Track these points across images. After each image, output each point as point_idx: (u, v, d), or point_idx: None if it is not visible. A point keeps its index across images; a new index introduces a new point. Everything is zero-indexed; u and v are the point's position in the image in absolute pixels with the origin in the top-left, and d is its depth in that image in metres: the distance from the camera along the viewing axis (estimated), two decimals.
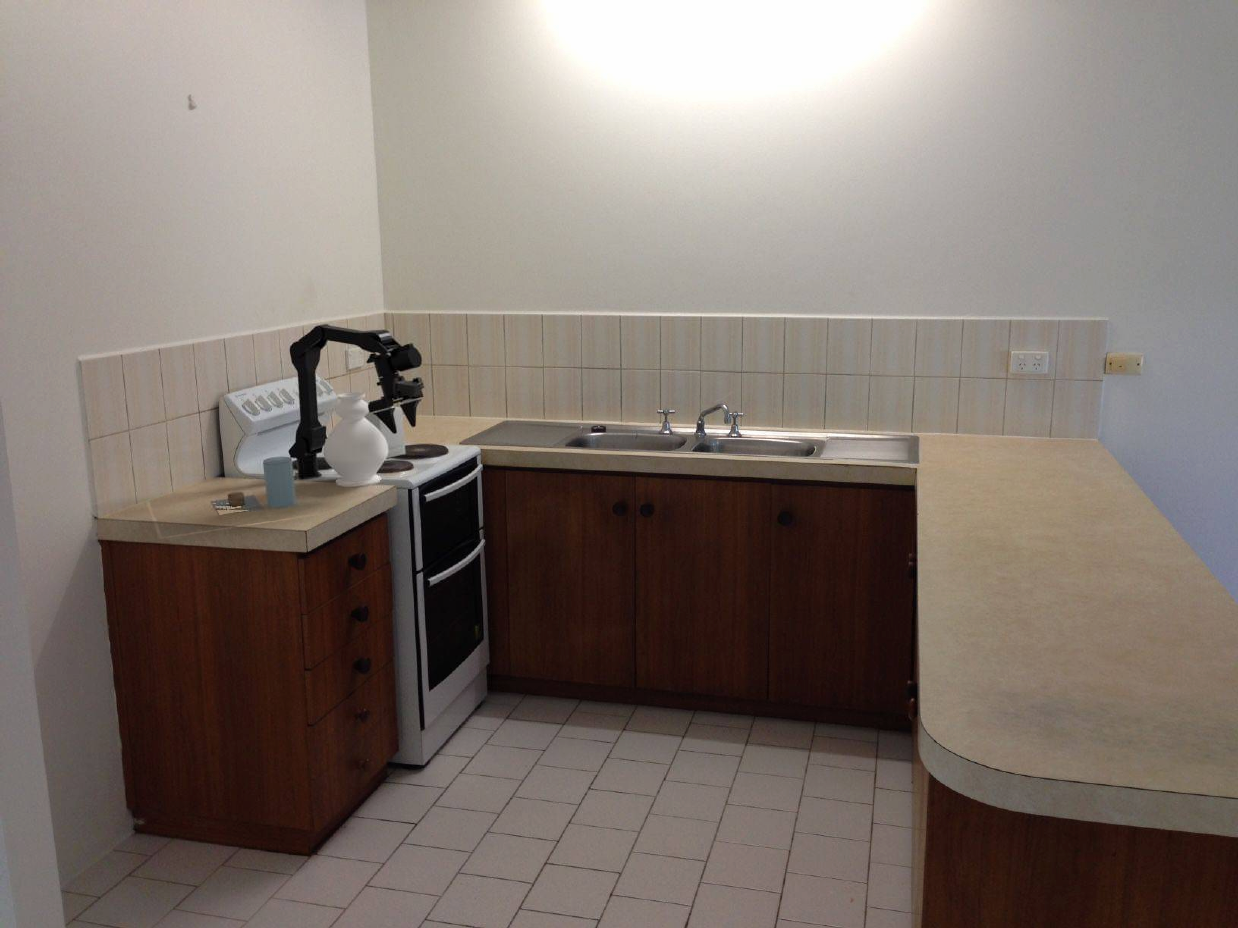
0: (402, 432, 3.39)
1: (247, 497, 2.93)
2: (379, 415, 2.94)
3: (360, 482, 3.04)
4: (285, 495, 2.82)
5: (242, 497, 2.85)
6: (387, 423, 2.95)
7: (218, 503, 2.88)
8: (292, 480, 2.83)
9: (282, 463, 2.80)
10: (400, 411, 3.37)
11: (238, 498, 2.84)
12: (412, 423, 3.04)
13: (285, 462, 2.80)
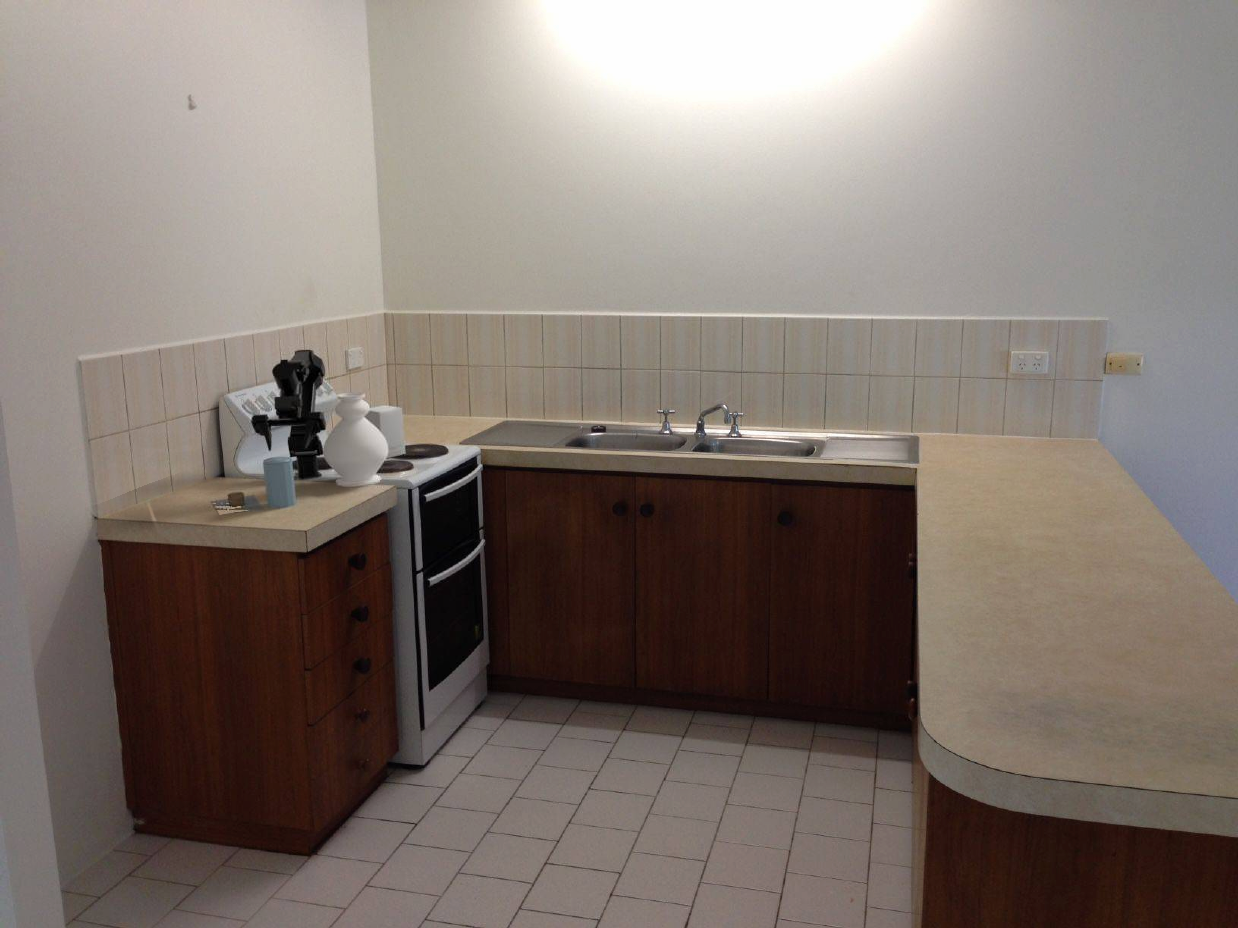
0: (402, 432, 3.39)
1: (247, 497, 2.93)
2: None
3: (360, 482, 3.04)
4: (285, 495, 2.82)
5: (242, 497, 2.85)
6: None
7: (218, 503, 2.88)
8: (292, 480, 2.83)
9: (282, 463, 2.80)
10: (400, 411, 3.37)
11: (238, 498, 2.84)
12: None
13: (285, 462, 2.80)
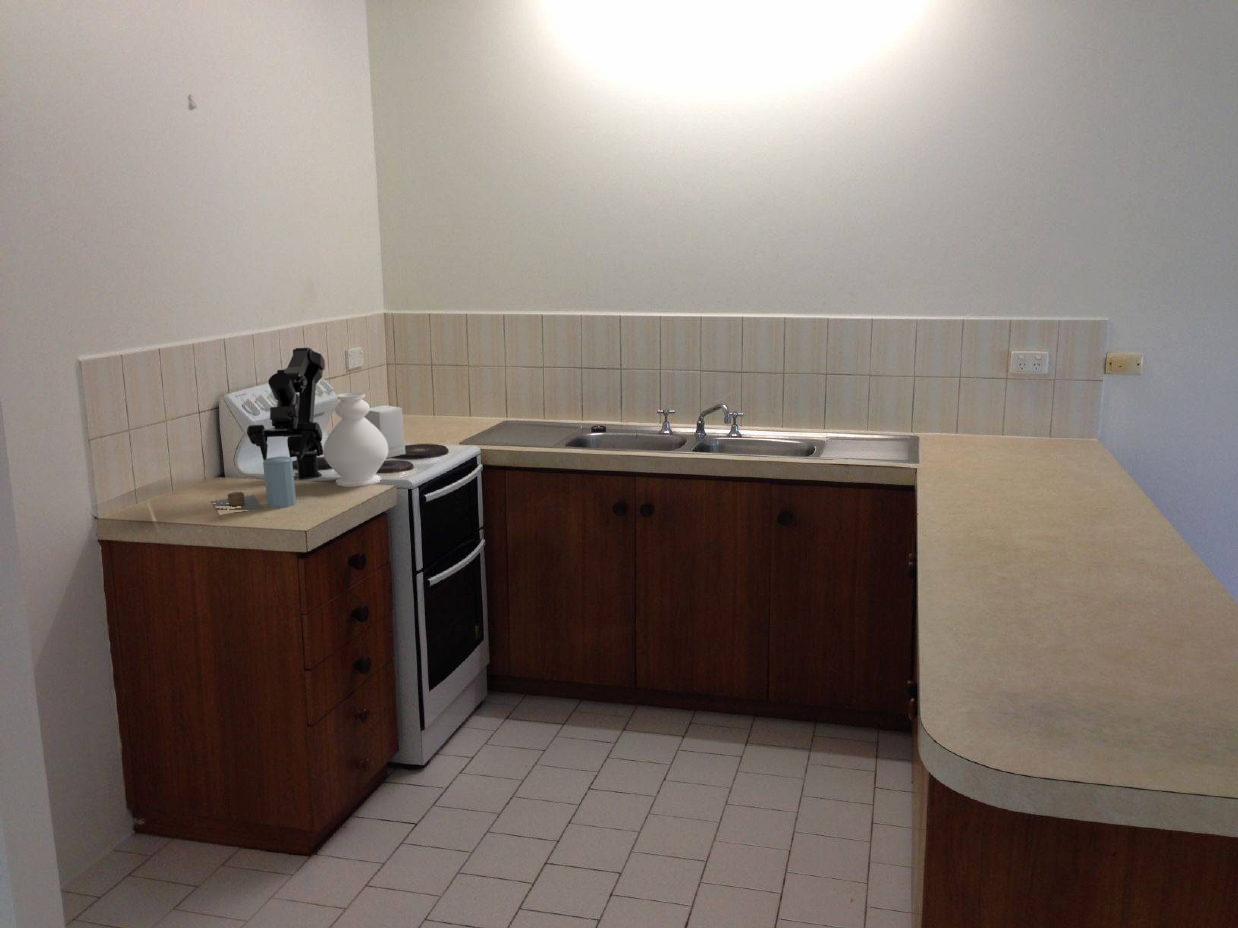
0: (402, 432, 3.39)
1: (247, 497, 2.93)
2: None
3: (360, 482, 3.04)
4: (285, 495, 2.82)
5: (242, 497, 2.85)
6: None
7: (218, 503, 2.88)
8: (292, 480, 2.83)
9: (282, 463, 2.80)
10: (400, 411, 3.37)
11: (238, 498, 2.84)
12: None
13: (285, 462, 2.80)
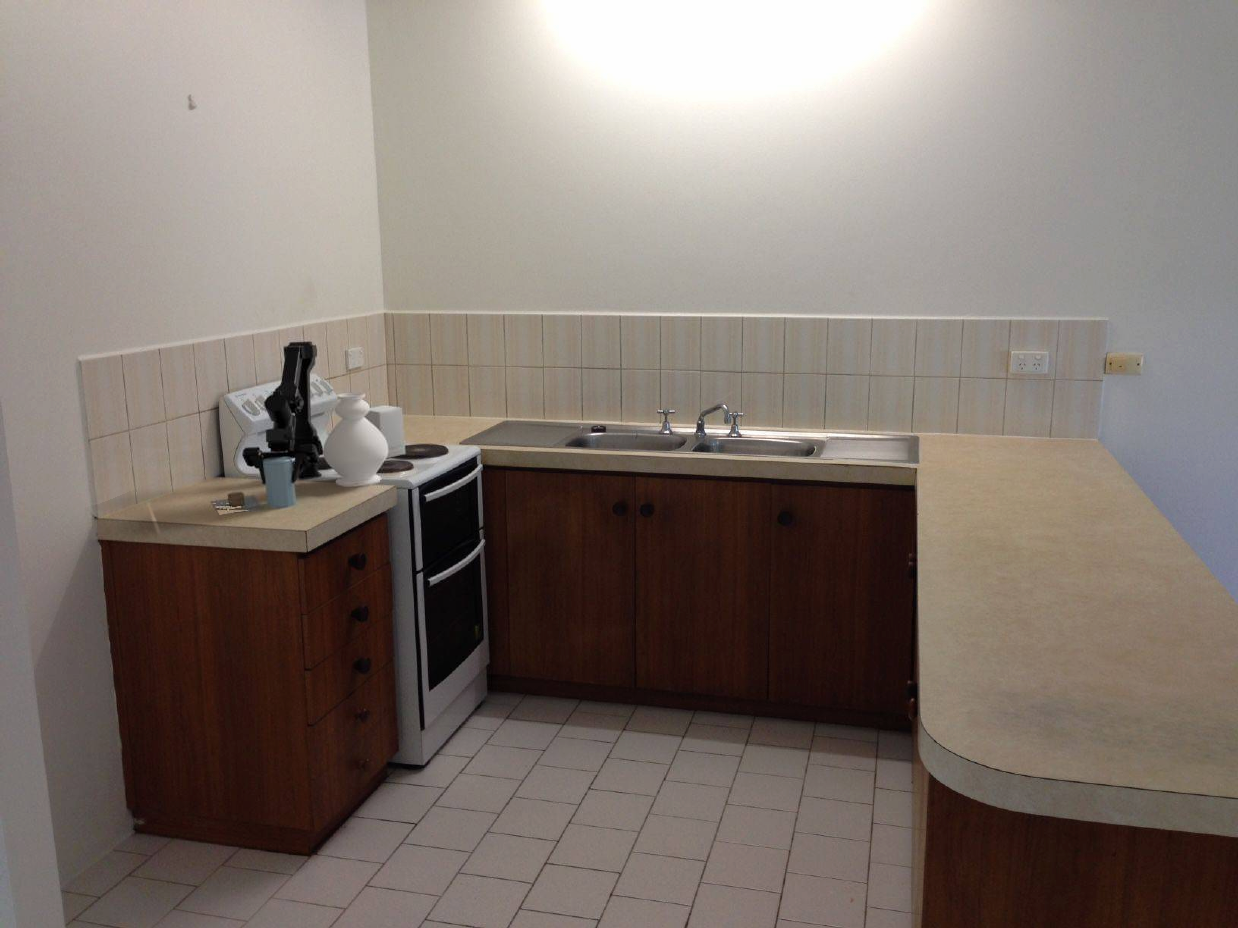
0: (402, 432, 3.39)
1: (247, 497, 2.93)
2: None
3: (360, 482, 3.04)
4: (285, 495, 2.82)
5: (242, 497, 2.85)
6: None
7: (218, 503, 2.88)
8: None
9: (282, 463, 2.80)
10: (400, 411, 3.37)
11: (238, 498, 2.84)
12: None
13: (285, 462, 2.80)
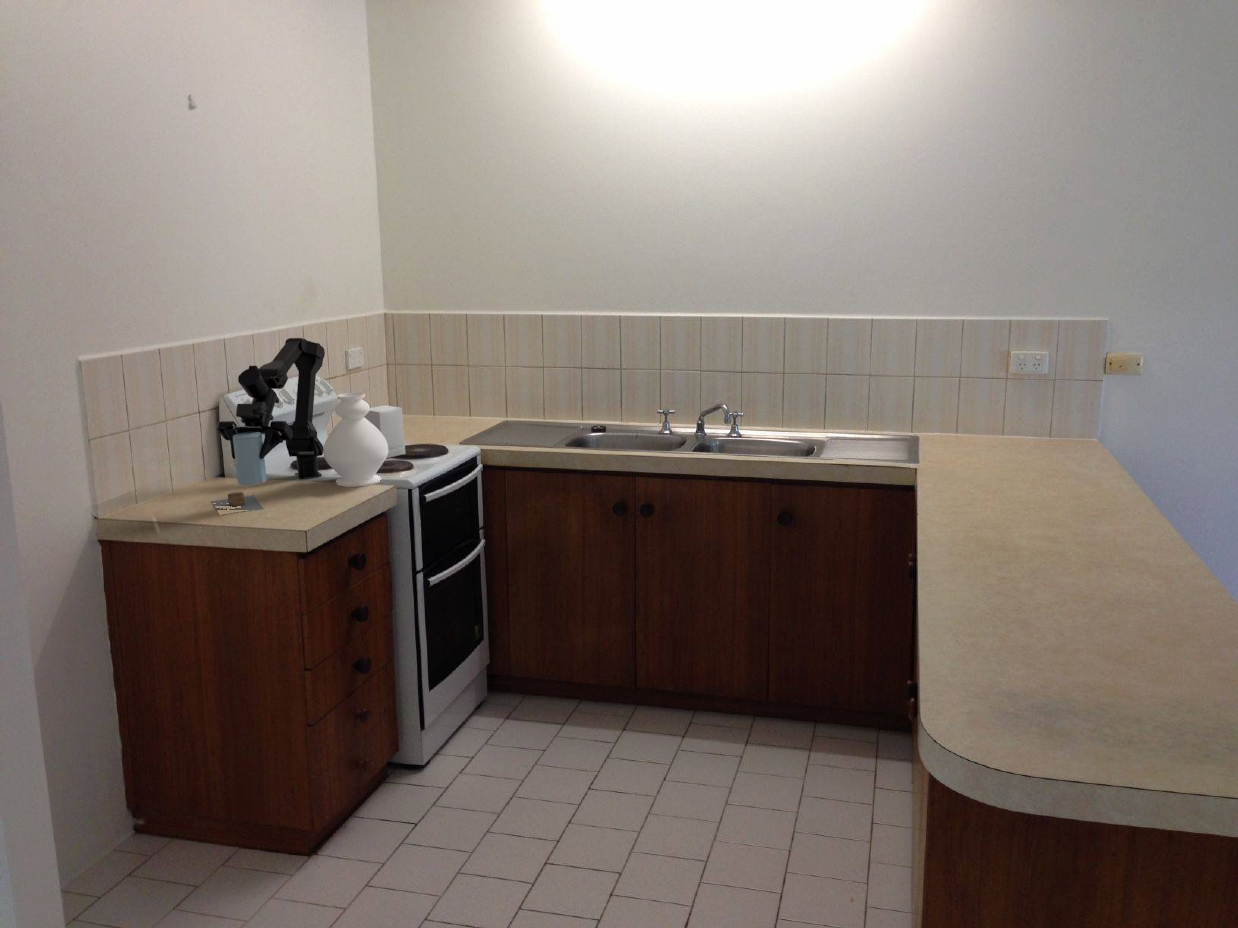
0: (402, 432, 3.39)
1: (247, 497, 2.93)
2: None
3: (360, 482, 3.04)
4: (252, 471, 2.79)
5: (242, 497, 2.85)
6: None
7: (218, 503, 2.88)
8: None
9: (249, 438, 2.78)
10: (400, 411, 3.37)
11: (238, 498, 2.84)
12: None
13: (252, 437, 2.78)
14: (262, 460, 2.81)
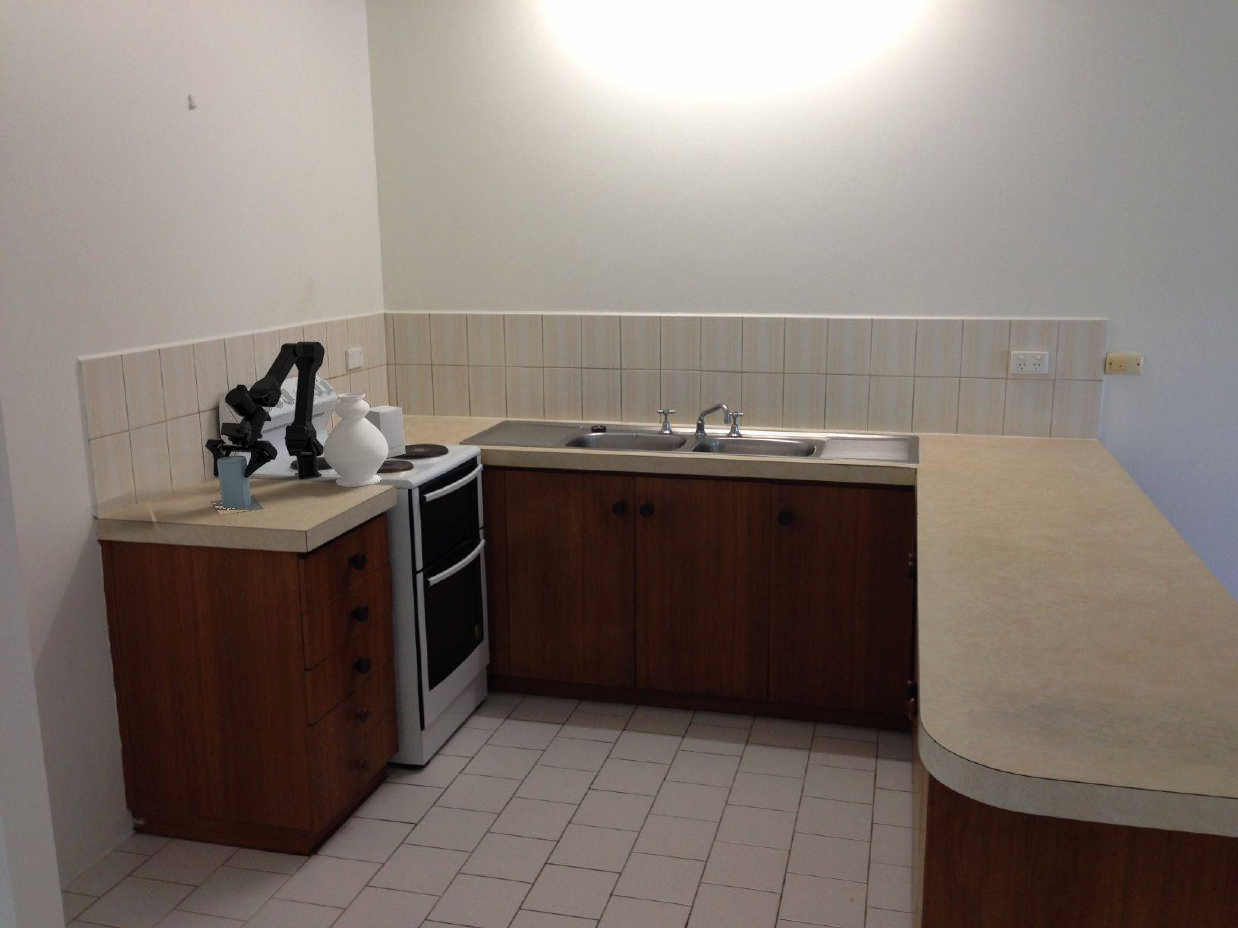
0: (402, 432, 3.39)
1: None
2: None
3: (360, 482, 3.04)
4: (234, 495, 2.82)
5: None
6: None
7: (218, 503, 2.88)
8: (244, 480, 2.83)
9: (231, 463, 2.80)
10: (400, 411, 3.37)
11: None
12: None
13: (234, 462, 2.80)
14: (245, 484, 2.83)
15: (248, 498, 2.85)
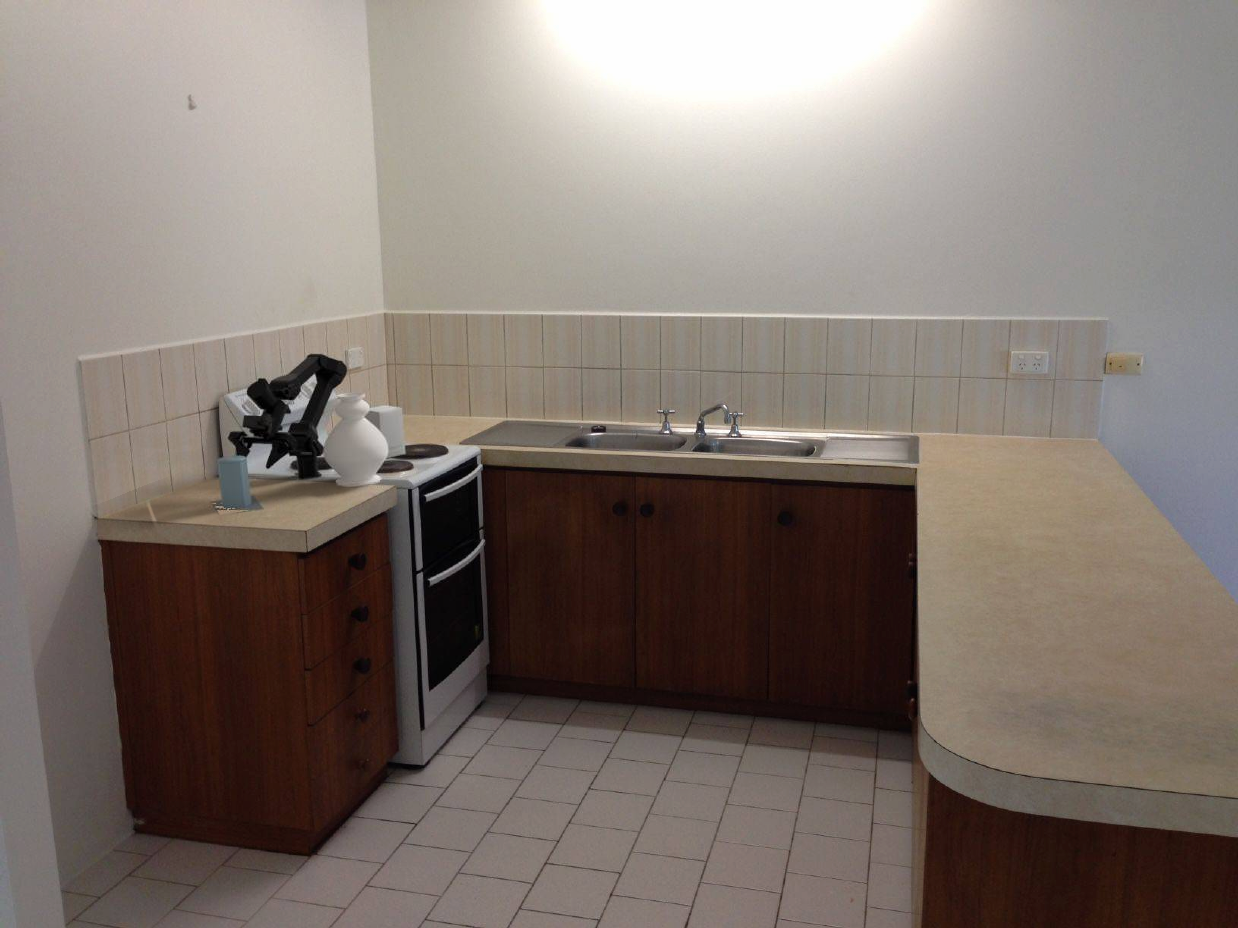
0: (402, 432, 3.39)
1: None
2: None
3: (360, 482, 3.04)
4: (234, 495, 2.82)
5: None
6: None
7: (218, 503, 2.88)
8: (244, 480, 2.83)
9: (231, 463, 2.80)
10: (400, 411, 3.37)
11: None
12: None
13: (234, 462, 2.80)
14: (245, 484, 2.83)
15: (248, 498, 2.85)
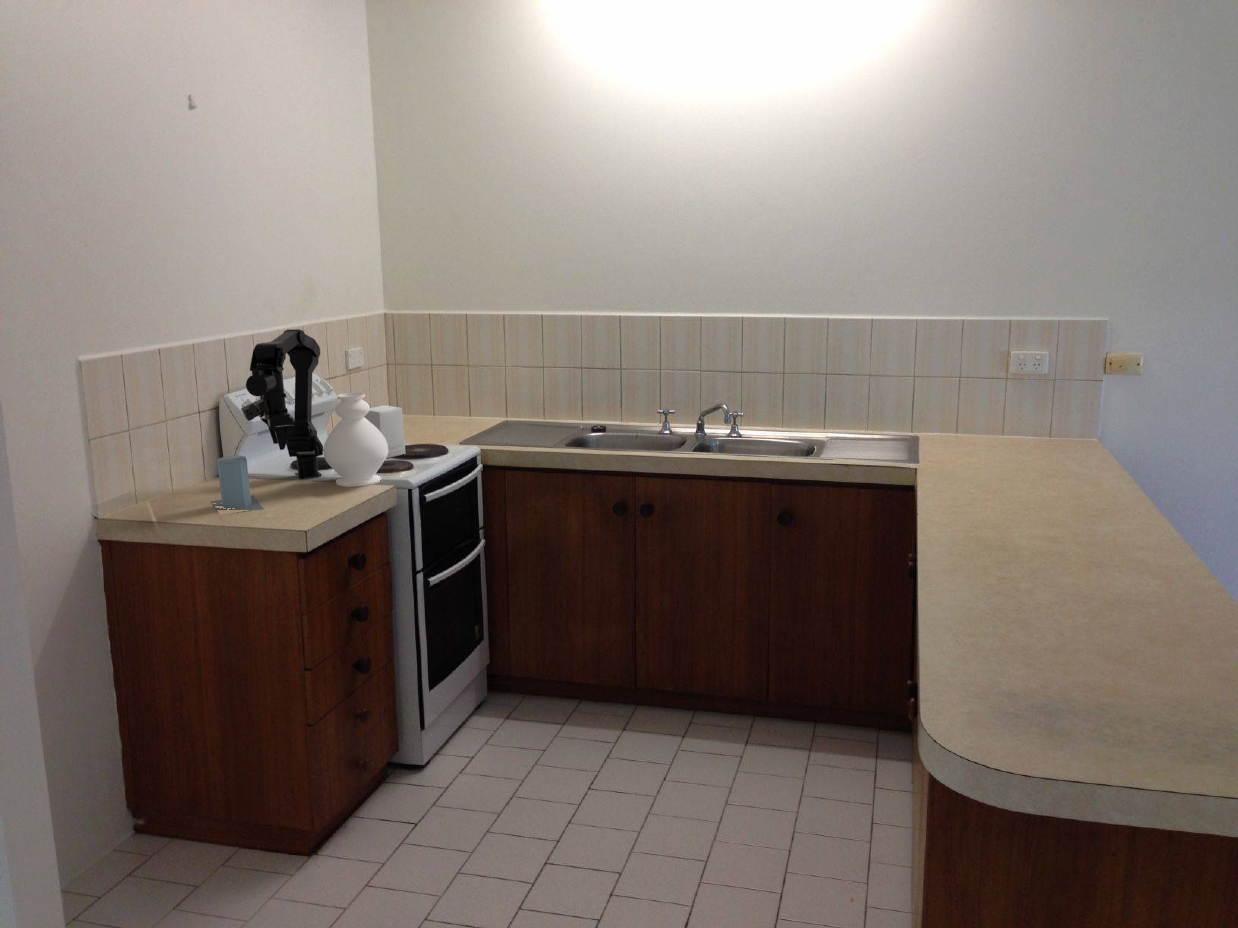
0: (402, 432, 3.39)
1: None
2: None
3: (360, 482, 3.04)
4: (234, 495, 2.82)
5: None
6: None
7: (218, 503, 2.88)
8: (244, 480, 2.83)
9: (231, 463, 2.80)
10: (400, 411, 3.37)
11: None
12: None
13: (234, 462, 2.80)
14: (245, 484, 2.83)
15: (248, 498, 2.85)
